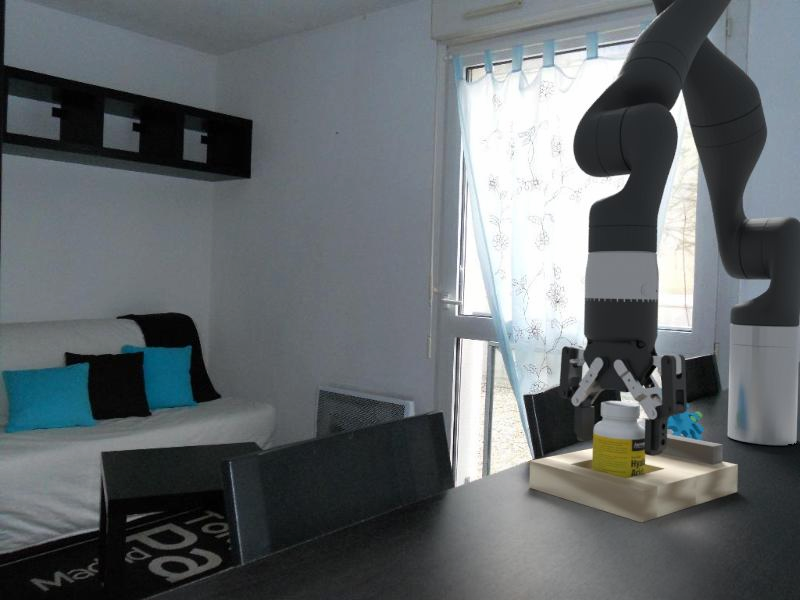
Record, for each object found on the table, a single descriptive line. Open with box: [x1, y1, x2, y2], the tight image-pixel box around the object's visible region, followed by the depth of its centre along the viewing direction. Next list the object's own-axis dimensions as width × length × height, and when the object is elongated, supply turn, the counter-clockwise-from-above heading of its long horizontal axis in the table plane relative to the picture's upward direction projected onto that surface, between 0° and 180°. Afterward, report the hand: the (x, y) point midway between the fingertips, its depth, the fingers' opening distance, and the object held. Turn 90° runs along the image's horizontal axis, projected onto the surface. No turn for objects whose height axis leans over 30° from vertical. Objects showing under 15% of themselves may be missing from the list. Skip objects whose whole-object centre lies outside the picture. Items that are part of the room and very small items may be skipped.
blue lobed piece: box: [660, 387, 705, 441], centre depth 105 cm, size 11×6×10 cm
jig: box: [528, 433, 739, 523], centre depth 77 cm, size 18×14×5 cm
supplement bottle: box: [592, 400, 645, 478], centre depth 75 cm, size 5×5×10 cm
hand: (617, 446), depth 75 cm, fingers open, 8 cm apart
